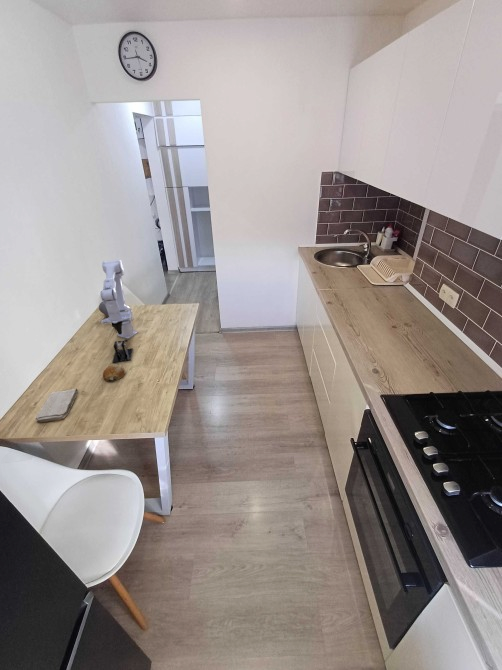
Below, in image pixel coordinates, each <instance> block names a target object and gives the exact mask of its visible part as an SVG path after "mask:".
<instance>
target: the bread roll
mask: <svg viewBox="0 0 502 670" xmlns="http://www.w3.org/2000/svg"><path fill="white" fill-rule="evenodd" d="M125 373H126V372H125V369H124V367H123V366H122V365H120V364H119V363H110V364H108V365H107V366H106V367H105V368H104V369H103V372H102V377H103V380H104V381H105V382H108V383H113V382H116V381H120V379H122V378H123V377H124V376H125Z"/></svg>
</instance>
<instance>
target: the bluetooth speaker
mask: <svg viewBox="0 0 502 670" xmlns="http://www.w3.org/2000/svg"><path fill="white" fill-rule="evenodd" d="M98 310H99V311H100V313H101V314H103V315H104V316H106V317H107V318H109V314H108V311H107V308H106V305H105V304H104V302H103V301H101V302H100V303H99V305H98ZM122 311H126V310H122Z"/></svg>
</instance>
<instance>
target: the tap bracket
mask: <svg viewBox="0 0 502 670" xmlns="http://www.w3.org/2000/svg"><path fill="white" fill-rule="evenodd" d="M125 340H126V339H124V340H121V341H122V349H118V348H117V344H118V341H114V343H113V349H114V355H113V360H112V364H119V363H125V362H131V361H132V356H133V351H134V348H132V347H130V348H128V346H127V344H126V343H127V342H125Z"/></svg>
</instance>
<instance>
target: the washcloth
mask: <svg viewBox="0 0 502 670" xmlns="http://www.w3.org/2000/svg"><path fill="white" fill-rule="evenodd" d="M78 392H79V390H78V388H70V389H67V390H57V391H52V392H50V393H49V394H48V397H47V398H46V399H45V401H44V403H43V405H42V406H41V409H40V410H39V411H38V413H37V414H36V416H35V420H36V423H42V422H45V423H46V422H52V421H53V422H54V421H60V420H63V419H65V418H66V417H68V414H69V413H70V410H71V408H72V406H73V404H74V402H75V400H76V397H77V395H78Z"/></svg>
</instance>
